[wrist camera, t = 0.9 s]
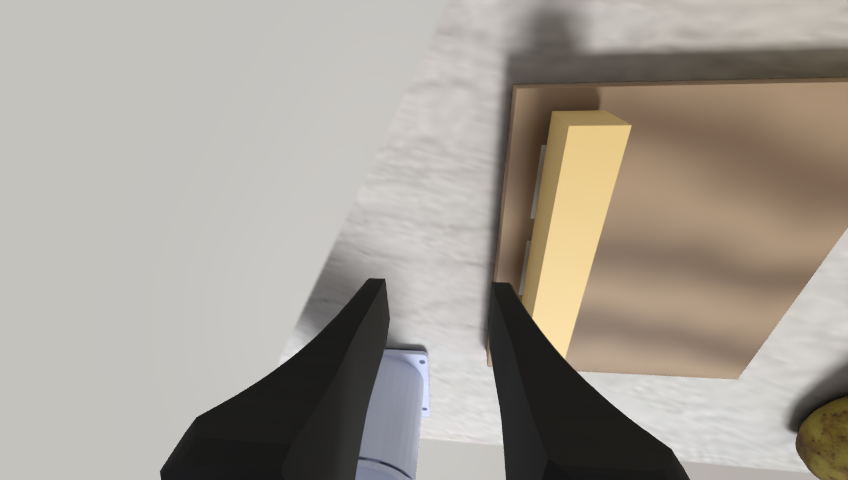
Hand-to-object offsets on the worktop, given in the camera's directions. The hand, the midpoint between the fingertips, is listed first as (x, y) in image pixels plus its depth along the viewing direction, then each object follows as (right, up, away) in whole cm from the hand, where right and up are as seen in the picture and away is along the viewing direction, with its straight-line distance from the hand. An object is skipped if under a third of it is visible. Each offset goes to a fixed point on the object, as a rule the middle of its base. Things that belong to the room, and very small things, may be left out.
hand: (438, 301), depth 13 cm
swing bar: (+7, +1, +9) cm, 11 cm away
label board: (+14, +1, +10) cm, 17 cm away
